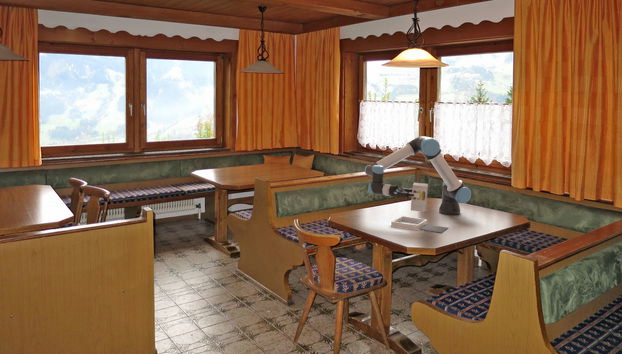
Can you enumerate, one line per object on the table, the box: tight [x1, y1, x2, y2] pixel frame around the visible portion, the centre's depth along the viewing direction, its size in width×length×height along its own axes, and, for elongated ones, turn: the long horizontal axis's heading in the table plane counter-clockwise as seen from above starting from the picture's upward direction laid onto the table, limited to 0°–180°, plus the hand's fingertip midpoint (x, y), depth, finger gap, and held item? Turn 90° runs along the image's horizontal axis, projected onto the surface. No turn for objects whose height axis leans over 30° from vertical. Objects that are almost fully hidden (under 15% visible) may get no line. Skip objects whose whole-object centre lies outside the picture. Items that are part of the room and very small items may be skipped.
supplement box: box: [410, 182, 429, 213], centre depth 342 cm, size 10×9×17 cm
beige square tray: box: [390, 215, 428, 231], centre depth 349 cm, size 19×18×3 cm
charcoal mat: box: [419, 223, 449, 234], centre depth 339 cm, size 14×14×1 cm
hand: (422, 194), depth 340 cm, fingers closed on supplement box, 11 cm apart
